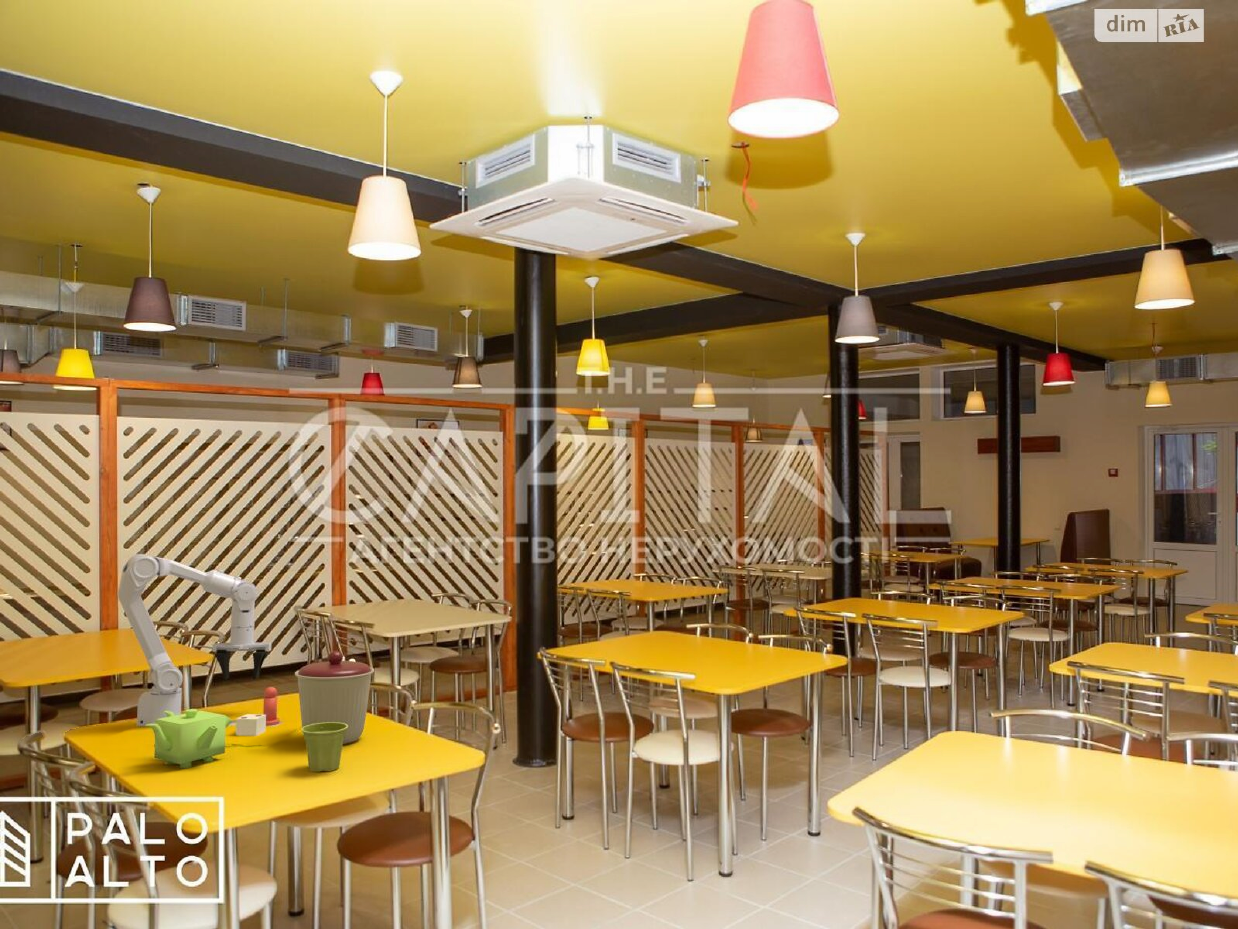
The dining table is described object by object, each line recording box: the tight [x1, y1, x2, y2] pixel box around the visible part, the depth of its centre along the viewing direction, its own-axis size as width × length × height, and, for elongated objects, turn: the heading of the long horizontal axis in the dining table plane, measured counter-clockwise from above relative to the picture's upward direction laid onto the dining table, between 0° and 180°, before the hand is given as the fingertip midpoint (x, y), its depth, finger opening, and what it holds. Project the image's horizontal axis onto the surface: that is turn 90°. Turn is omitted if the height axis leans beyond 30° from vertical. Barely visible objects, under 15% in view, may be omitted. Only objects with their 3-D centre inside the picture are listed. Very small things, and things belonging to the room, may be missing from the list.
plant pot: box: [301, 722, 348, 773], centre depth 192 cm, size 9×9×9 cm
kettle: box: [145, 708, 232, 769], centre depth 196 cm, size 15×14×11 cm
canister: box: [294, 650, 375, 745], centre depth 216 cm, size 18×18×21 cm
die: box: [235, 713, 267, 737], centre depth 218 cm, size 5×5×5 cm
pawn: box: [262, 686, 280, 727], centre depth 228 cm, size 5×5×9 cm
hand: (241, 679), depth 238 cm, fingers open, 7 cm apart
